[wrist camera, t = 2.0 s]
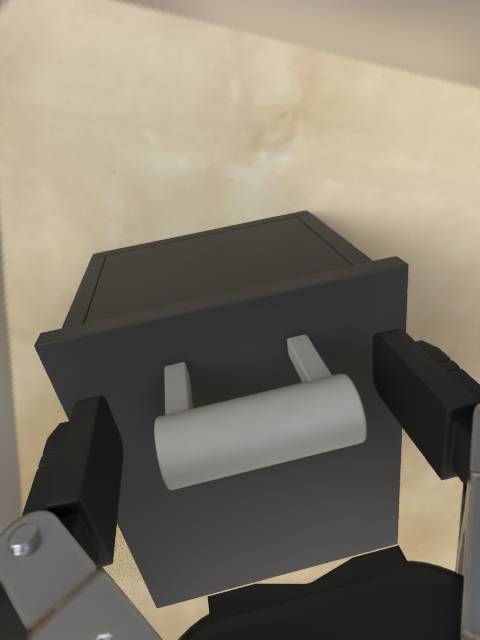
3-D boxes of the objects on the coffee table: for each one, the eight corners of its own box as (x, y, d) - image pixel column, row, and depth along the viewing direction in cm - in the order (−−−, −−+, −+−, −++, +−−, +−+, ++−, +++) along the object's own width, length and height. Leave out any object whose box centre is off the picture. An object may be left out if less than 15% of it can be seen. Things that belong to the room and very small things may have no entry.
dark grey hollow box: (92, 253, 22) (50, 353, 13) (306, 209, 23) (395, 277, 14) (157, 442, 29) (156, 590, 20) (322, 403, 29) (389, 528, 21)
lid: (40, 332, 13) (-22, 454, 9) (396, 255, 14) (508, 330, 9) (156, 591, 20) (156, 732, 16) (389, 529, 21) (452, 646, 16)
